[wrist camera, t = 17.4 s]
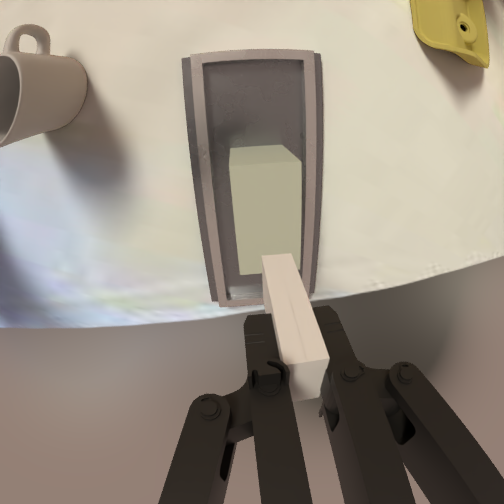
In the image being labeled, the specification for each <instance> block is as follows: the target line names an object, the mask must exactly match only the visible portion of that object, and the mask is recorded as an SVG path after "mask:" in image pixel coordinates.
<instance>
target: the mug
mask: <svg viewBox="0 0 504 504" xmlns="http://www.w3.org/2000/svg"><path fill="white" fill-rule="evenodd" d="M22 34H27V35H31V36H33V37H34V38H35V39H36V41H37V51H36V54H32V53H24V52H20V51H19V39H20V36H21V35H22ZM86 92H87V76H86V73H85V70H84V68H83V67H82V65H81V64H80V63H79V62H78V61H76V60H75V59H72V58H69V57H63V56H55V55H50V36H49V33H48V32H47V31H46V30H45V29H44V28H43V27H40V26H38V25H33V24H24V25H20V26H18V27H16V28H14V29H13V30H12V31H11V32H10V33H9V34H8V36H7V38H6V41H5V44H4V49H3V53H2V54H0V147H3V146H6V145H8V144H11V143H14V142H16V141H19V140H22V139H25V138H28V137H31V136H34V135H37V134H40V133H44V132H48V131H52V130H56V129H59V128H61V127H63V126H65V125H67V124H68V123H69V122H71V121H72V120H73V119H74V118H75V117H76V115H77V114H78V112H79V111H80V109H81V107H82V105H83V103H84V100H85V97H86Z"/></svg>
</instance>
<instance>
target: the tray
mask: <svg viewBox="0 0 504 504" xmlns="http://www.w3.org/2000/svg"><path fill="white" fill-rule="evenodd" d="M182 72H183V86H184V99H185V110H186V121H187V131H188V141H189V150H190V159H191V167H192V175H193V183H194V191H195V199H196V206H197V213H198V220H199V227H200V233H201V240H202V246H203V252H204V258H205V264H206V270H207V276H208V282H209V288H210V293H211V299H212V301H219V307H231V306H245V305H257V304H264V300H263V281H262V273H259V274H248V275H240V270H239V261H238V252H237V242H236V233H235V223H234V213H233V203H232V193H231V182H230V172H229V158H230V148H239V147H251V146H267V145H283V146H284V147H285V148H287V149H288V150H289V151H290V152H291V153H292V154H293V155H295V156H296V157H297V158H298V159H299V160H300V161H301V169H302V209H301V257H300V270H298V272H299V275H300V277H301V280H302V283H303V285H304V288H305V291H306V293H307V296H308V299H309V293H314V286H315V276H316V266H317V254H318V241H319V226H320V209H321V188H322V150H323V111H322V75H321V55H320V54H318V53H314V51H309V50H291V49H248V50H230V51H218V52H208V53H200V54H192V55H190V57H188V58H182Z"/></svg>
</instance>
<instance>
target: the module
mask: <svg viewBox="0 0 504 504" xmlns="http://www.w3.org/2000/svg"><path fill="white" fill-rule="evenodd" d="M229 172H230V182H231V193H232V203H233V213H234V223H235V233H236V242H237V252H238V261H239V270H240V275H248V274H259V273H262V256H265V255H276V254H288V253H291V254H292V256H293V259H294V262H295V264H296V267H297V269H298V270H300V257H301V209H302V169H301V161H300V160H299V159H298V158H297V157H296V156H295V155H293V154H292V153H291V152H290V151H289V150H288V149H287V148H285V147H284V146H283V145H267V146H251V147H239V148H230V158H229Z"/></svg>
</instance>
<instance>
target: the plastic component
mask: <svg viewBox="0 0 504 504" xmlns="http://www.w3.org/2000/svg"><path fill="white" fill-rule="evenodd" d="M410 3H411V10H412V19H413V29H414V31H415V33H416V35H417V36H418V38H419V39H420V40H421V41H422V42H424V43H425V44H427V45H428V46H430V47H433V48H435V49H441V50H446V51H449V52H452V53H455V54H457V55H458V56H460V57H461V58H462V59H463V60H465V61H466V62H467V63H469V64H472V65H476V66H480V67H483V68H488V67H489V43H488V33H487V25H486V18H485V12H484V6H483V1H482V0H410ZM461 24H462V25H463V26H464V27H465V29H466V31H463V30H462V29H461V28H460V25H461Z"/></svg>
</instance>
